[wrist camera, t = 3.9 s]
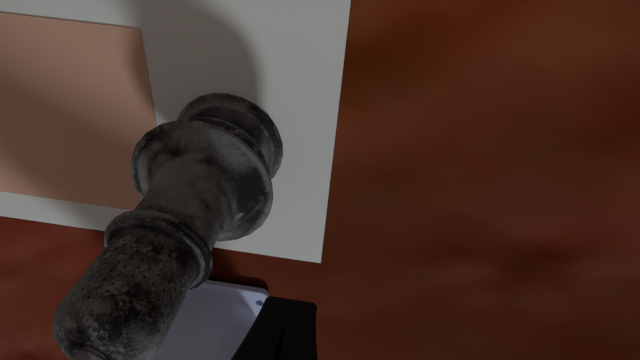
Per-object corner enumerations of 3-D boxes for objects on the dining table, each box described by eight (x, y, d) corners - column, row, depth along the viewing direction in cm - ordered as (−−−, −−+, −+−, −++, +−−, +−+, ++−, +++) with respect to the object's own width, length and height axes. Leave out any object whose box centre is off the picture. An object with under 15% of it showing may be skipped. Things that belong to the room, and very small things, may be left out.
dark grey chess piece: (144, 130, 19) (-110, 364, 9) (228, 59, 16) (4, 274, 7) (229, 212, 21) (99, 470, 11) (314, 160, 19) (242, 433, 9)
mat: (321, 259, 23) (320, 263, 22) (-36, 206, 24) (-41, 210, 24) (351, -3, 15) (350, -2, 15) (-182, -61, 16) (-193, -61, 16)
